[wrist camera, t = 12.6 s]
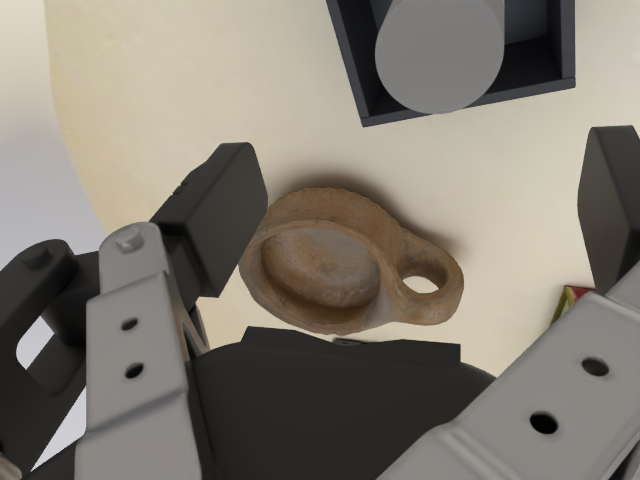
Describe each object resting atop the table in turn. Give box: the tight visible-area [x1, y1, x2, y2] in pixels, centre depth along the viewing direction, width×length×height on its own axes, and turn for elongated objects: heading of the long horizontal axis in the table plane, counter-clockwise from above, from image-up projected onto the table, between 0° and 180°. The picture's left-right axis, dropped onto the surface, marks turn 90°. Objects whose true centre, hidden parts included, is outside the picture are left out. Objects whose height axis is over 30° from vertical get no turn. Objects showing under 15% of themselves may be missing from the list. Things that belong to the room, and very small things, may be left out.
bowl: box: [238, 187, 464, 336], centre depth 40 cm, size 18×14×10 cm
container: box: [375, 0, 505, 114], centre depth 22 cm, size 5×5×15 cm
